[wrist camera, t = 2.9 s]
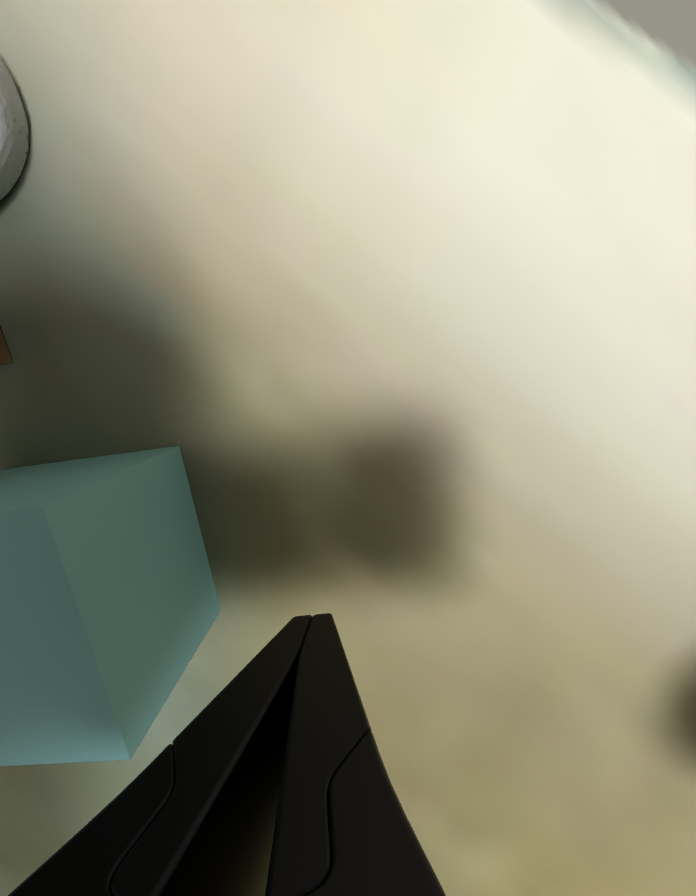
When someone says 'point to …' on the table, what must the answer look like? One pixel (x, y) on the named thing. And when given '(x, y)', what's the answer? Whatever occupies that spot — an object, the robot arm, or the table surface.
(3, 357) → the corner board
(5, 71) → the ceramic mug
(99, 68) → the table surface
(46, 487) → the teal block
